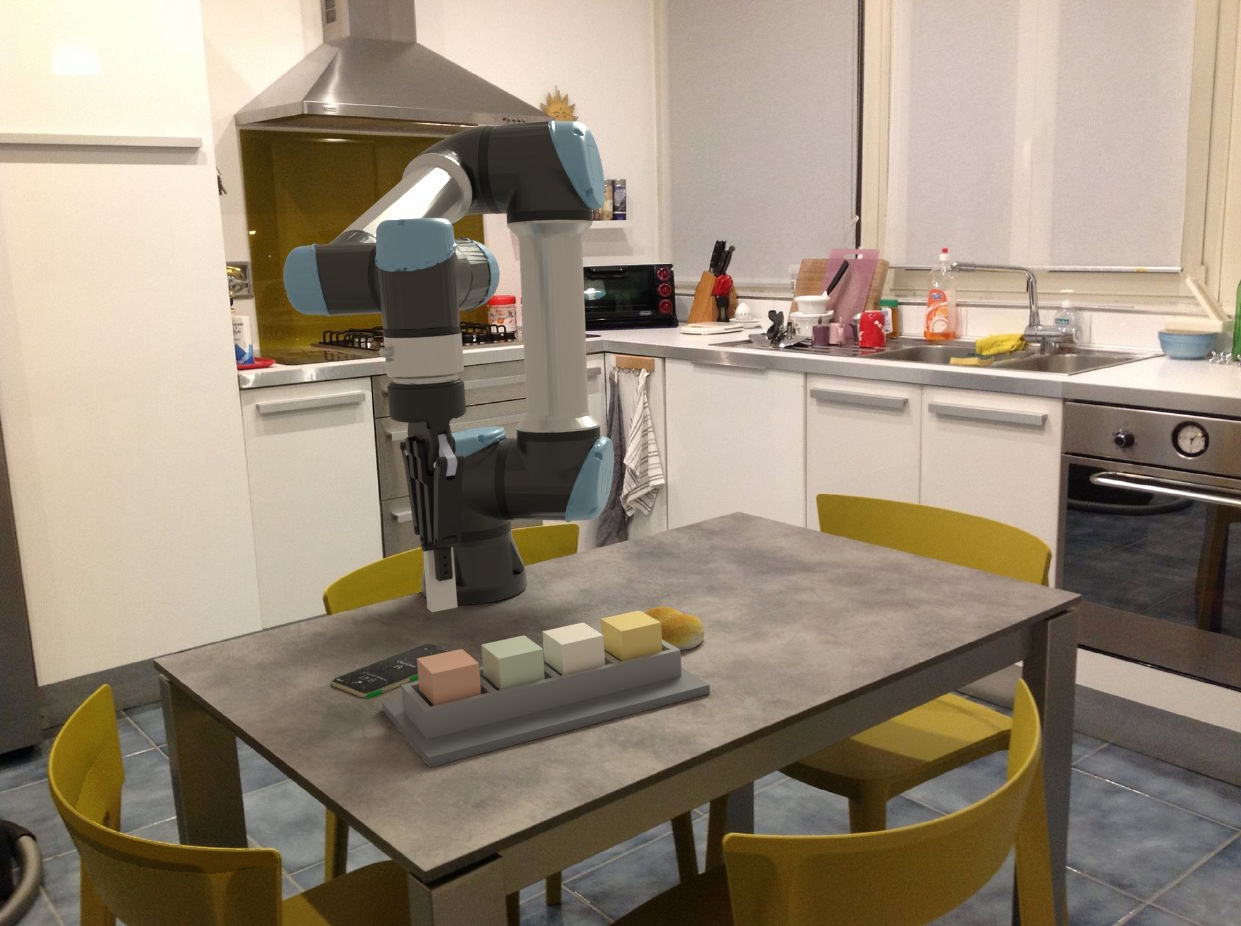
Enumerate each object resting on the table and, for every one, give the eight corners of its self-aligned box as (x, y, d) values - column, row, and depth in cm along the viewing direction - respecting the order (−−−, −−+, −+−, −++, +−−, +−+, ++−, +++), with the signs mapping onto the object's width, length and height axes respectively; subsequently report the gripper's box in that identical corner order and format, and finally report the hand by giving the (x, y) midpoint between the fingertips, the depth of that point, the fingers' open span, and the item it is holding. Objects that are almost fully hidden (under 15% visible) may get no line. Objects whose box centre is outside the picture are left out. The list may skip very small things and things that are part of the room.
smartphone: (468, 654, 137) (366, 694, 126) (468, 661, 137) (367, 703, 126) (427, 641, 142) (326, 679, 131) (428, 648, 142) (327, 687, 131)
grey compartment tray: (382, 709, 123) (379, 675, 122) (639, 649, 138) (638, 618, 137) (429, 766, 109) (426, 728, 108) (709, 693, 124) (708, 658, 123)
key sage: (483, 675, 122) (481, 644, 121) (526, 665, 124) (524, 635, 124) (500, 690, 118) (498, 658, 117) (544, 680, 120) (542, 648, 119)
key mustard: (602, 647, 129) (600, 618, 128) (640, 639, 131) (639, 610, 130) (622, 661, 124) (621, 631, 123) (662, 652, 126) (661, 622, 126)
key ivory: (544, 661, 125) (542, 631, 125) (584, 651, 128) (583, 622, 127) (563, 675, 121) (561, 644, 120) (605, 665, 123) (603, 635, 122)
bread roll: (671, 659, 135) (670, 627, 134) (622, 641, 141) (621, 610, 141) (720, 640, 140) (719, 609, 139) (670, 624, 147) (669, 594, 146)
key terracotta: (419, 689, 119) (416, 658, 118) (464, 679, 121) (462, 648, 120) (434, 706, 114) (432, 673, 114) (481, 695, 117) (478, 663, 116)
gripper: (369, 376, 115) (388, 598, 120) (408, 388, 104) (427, 632, 108) (440, 370, 119) (455, 586, 123) (485, 380, 107) (500, 618, 112)
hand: (442, 607), depth 116 cm, fingers closed
